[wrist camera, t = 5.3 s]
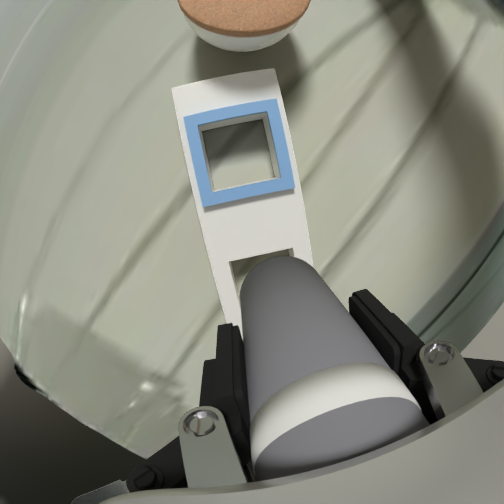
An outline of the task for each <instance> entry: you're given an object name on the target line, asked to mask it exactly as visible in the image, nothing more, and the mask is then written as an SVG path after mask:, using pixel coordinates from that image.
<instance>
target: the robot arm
mask: <svg viewBox="0 0 504 504" xmlns="http://www.w3.org/2000/svg"><path fill="white" fill-rule="evenodd" d="M349 313H350V315H351V316H352V317H353V319H354V320H355V321H356V323H357V324H358V325H359V327H360V328H361V329H362V331H363V332H364V333H365V335H366V336H367V337H368V339H369V340H370V341H371V343H372V344H373V345H374V347H375V348H376V349H377V351H378V352H379V353H380V355H381V356H382V357H383V359H384V360H385V361H386V363H387V364H388V366H389V367H390V368H391V370H393V371H394V372H395V373H396V374H397V375H398V376H399V377H400V379H401V380H402V382H403V383H404V384H405V386H406V387H407V389H408V390H409V391H410V393H411V394H412V396H413V397H414V398H415V400H416V401H417V403H418V404H419V406H420V408H421V411H422V414H423V415H424V416H425V418H426V419H427V421H428V422H429V424H430V426H428V427H426V428H424V429H422V430H420V431H418V432H416V433H414V434H411V435H409V436H407V437H405V438H403V439H401V440H399V441H396V442H394V443H392V444H389V445H387V446H384V447H382V448H380V449H377V450H374V451H372V452H369V453H367V454H364V455H361V456H358V457H355V458H352V459H349V460H346V461H343V462H340V463H337V464H334V465H330V466H327V467H323V468H319V469H316V470H312V471H308V472H304V473H300V474H295V475H291V476H286V477H281V478H275V479H270V480H264V481H257V482H255V481H254V478H253V476H252V473H251V471H250V468H249V466H248V463H249V462H250V461H251V460H252V458H251V447H250V435H249V429H250V412H249V401H248V390H247V378H246V367H245V355H244V343H243V339H242V336H241V333H240V329H239V326H238V325H236V326H233V324H232V323H228V324H223V325H218V332H217V347H216V359H211V360H205V361H204V366H203V375H202V385H201V394H200V404H199V407H196V408H194V409H191V410H189V411H188V412H186V413H185V414H184V415H183V416H182V417H181V419H180V421H179V423H178V431H179V436H178V437H177V438H175V439H174V440H173V441H171V442H170V443H169V444H167V445H166V446H165V447H163V448H162V449H160V450H159V451H158V452H156V453H155V454H154V455H152V456H151V457H149V458H148V459H146V460H145V461H144V462H142V463H141V464H139V465H138V466H136V467H135V468H134V469H133V470H131V471H130V473H129V475H128V477H127V480H126V481H124V482H122V481H120V480H118V481H116V482H114V483H111V484H109V485H107V486H104V487H102V488H99V489H97V490H95V491H92V492H89V493H87V494H84V495H81V496H79V497H77V498H75V499H74V501H73V502H72V503H71V504H504V362H503V361H494V360H483V359H472V358H463V357H462V356H461V354H460V352H459V351H458V349H457V348H456V347H455V346H454V345H453V344H451V343H449V342H446V341H439V340H437V341H432V342H429V343H427V344H424V343H423V342H422V341H421V340H420V339H419V338H418V337H417V336H416V335H415V333H414V332H413V331H412V330H411V329H410V328H409V327H408V326H407V325H406V324H405V323H404V322H403V321H402V320H400V319H399V318H398V317H397V316H396V315H395V314H394V313H391V312H390V311H389V310H388V309H387V308H386V307H385V306H384V305H383V304H382V303H381V302H380V301H379V300H378V299H376V298H375V297H374V296H373V295H372V294H371V293H370V292H369V291H368V290H367V289H363V290H360V291H357V292H353V294H352V297H349Z"/></svg>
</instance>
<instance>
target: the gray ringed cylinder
mask: <svg viewBox="0 0 504 504" xmlns="http://www.w3.org/2000/svg"><path fill="white" fill-rule="evenodd" d="M240 306H241V319H242V332H243V343H244V355H245V367H246V378H247V390H248V401H249V412H250V429H249V435H250V447H251V458H252V468H253V473H254V476H255V477H256V482H257V481H264V480H270V479H275V478H281V477H286V476H291V475H295V474H300V473H304V472H308V471H312V470H316V469H319V468H323V467H327V466H330V465H334V464H337V463H340V462H343V461H346V460H349V459H352V458H355V457H358V456H361V455H364V454H367V453H369V452H372V451H374V450H377V449H380V448H382V447H384V446H387V445H389V444H392V443H394V442H396V441H399V440H401V439H403V438H405V437H407V436H409V435H411V434H414V433H416V432H418V431H420V430H422V429H424V428H426V427H428V426H430V424H429V422H428V421H427V419H426V418H425V416H424V415H423V414H422V411H421V408H420V406H419V404H418V403H417V401H416V400H415V398H414V397H413V396H412V394H411V393H410V391H409V390H408V389H407V387H406V386H405V384H404V383H403V382H402V380H401V379H400V377H399V376H398V375H397V374H396V373H395V372H394V371H393V370H391V368H390V367H389V366H388V364H387V363H386V361H385V360H384V359H383V357H382V356H381V355H380V353H379V352H378V351H377V349H376V348H375V347H374V345H373V344H372V343H371V341H370V340H369V339H368V337H367V336H366V335H365V333H364V332H363V331H362V329H361V328H360V327H359V325H358V324H357V323H356V321H355V320H354V319H353V317H352V316H351V315H350V314H349V312H348V311H347V310H346V308H345V307H344V306H343V305H342V303H341V302H340V301H339V299H338V298H337V297H336V296H335V294H334V293H333V292H332V291H331V289H330V288H329V287H328V285H327V284H326V283H325V282H324V280H323V279H322V278H321V277H320V275H319V274H318V273H317V272H316V270H315V269H314V268H313V267H312V266H311V265H310V264H308V263H307V262H305V261H304V260H302V259H299V258H296V257H292V256H278V257H273V258H270V259H267V260H265V261H263V262H261V263H259V264H258V265H257V266H255V267H254V268H253V269H252V270H251V271H250V272H249V273H248V275H247V276H246V278H245V279H244V281H243V284H242V287H241V290H240Z"/></svg>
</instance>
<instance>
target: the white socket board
mask: <svg viewBox="0 0 504 504" xmlns="http://www.w3.org/2000/svg"><path fill="white" fill-rule="evenodd" d="M172 94H173V99H174V105H175V110H176V115H177V120H178V125H179V130H180V135H181V140H182V145H183V150H184V154H185V159H186V164H187V168H188V173H189V177H190V182H191V186H192V190H193V195H194V199H195V203H196V208H197V212H198V216H199V220H200V224H201V228H202V232H203V236H204V240H205V244H206V248H207V252H208V256H209V260H210V264H211V268H212V271H213V275H214V279H215V283H216V286H217V290H218V294H219V297H220V301H221V305H222V308H223V312H224V315H225V319H226V322H227V324H228V323H232V324H233V326H236V325H238V326H239V329H240V333H241V336H242V339H243V332H242V319H241V306H240V297H239V293H238V289H237V285H236V281H235V276H234V272H233V268H232V264H231V261H234V260H239V259H243V258H248V257H253V256H257V255H262V254H266V253H271V252H275V251H280V250H284V249H288V251H289V256H292V257H296V258H299V259H302V260H304V261H305V262H307V263H308V264H310V265H311V266H312V267H313V260H312V253H311V246H310V240H309V233H308V227H307V221H306V215H305V209H304V203H303V197H302V191H301V186H300V181H299V175H298V170H297V165H296V160H295V155H294V150H293V145H292V140H291V135H290V131H289V126H288V122H287V117H286V113H285V108H284V104H283V100H282V96H281V91H280V87H279V83H278V79H277V75H276V71H275V68H271V69H263V70H255V71H249V72H242V73H236V74H231V75H226V76H220V77H215V78H211V79H206V80H202V81H197V82H193V83H189V84H185V85H181V86H178V87H174V88H172ZM260 119H263V123H264V128H265V133H266V137H267V142H268V147H269V151H270V156H271V161H272V166H273V171H274V176H275V178H270V179H265V180H260V181H255V182H250V183H245V184H240V185H235V186H231V187H226V188H222V189H217V190H214V186H213V182H212V177H211V172H210V168H209V163H208V159H207V154H206V149H205V145H204V140H203V135H202V131H205V130H210V129H214V128H219V127H223V126H228V125H233V124H238V123H243V122H248V121H254V120H260ZM313 268H314V267H313Z"/></svg>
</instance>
